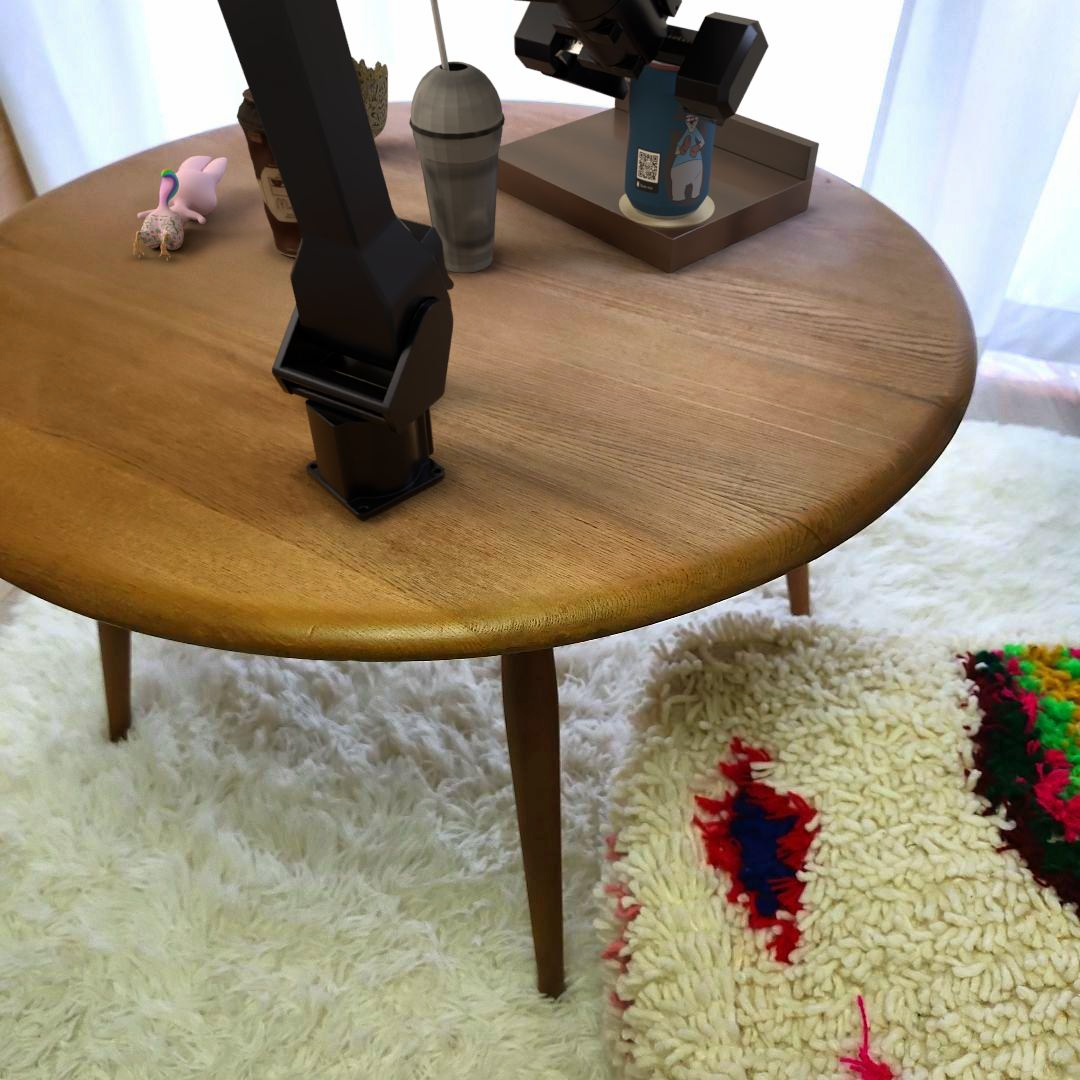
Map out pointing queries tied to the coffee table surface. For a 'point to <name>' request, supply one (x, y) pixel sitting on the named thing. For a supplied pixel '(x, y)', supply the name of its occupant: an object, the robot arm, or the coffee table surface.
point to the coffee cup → (269, 180)
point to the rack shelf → (605, 212)
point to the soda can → (665, 148)
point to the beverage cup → (459, 156)
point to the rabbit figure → (180, 203)
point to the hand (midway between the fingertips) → (672, 106)
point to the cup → (374, 93)
